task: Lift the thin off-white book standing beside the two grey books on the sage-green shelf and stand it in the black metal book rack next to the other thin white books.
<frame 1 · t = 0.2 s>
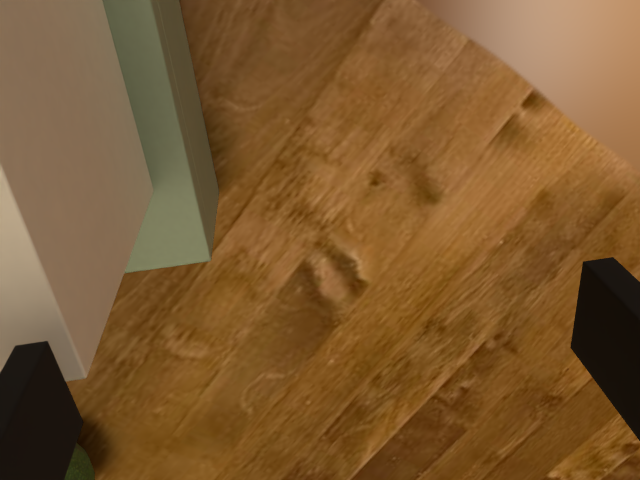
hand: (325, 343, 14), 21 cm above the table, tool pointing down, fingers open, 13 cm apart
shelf: (64, 91, 31), on the table
white book: (92, 81, 23), point 8 cm above the table, touching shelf
avocado: (55, 447, 43), on the table
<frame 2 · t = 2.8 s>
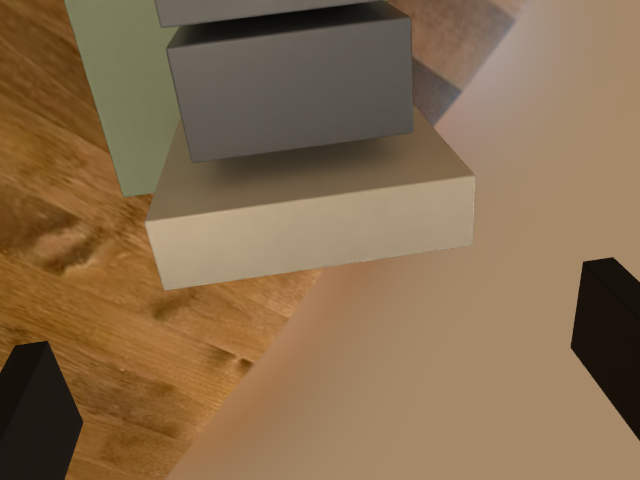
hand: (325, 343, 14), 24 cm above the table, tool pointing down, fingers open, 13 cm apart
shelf: (238, 12, 33), on the table
white book: (291, 117, 28), point 8 cm above the table, touching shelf
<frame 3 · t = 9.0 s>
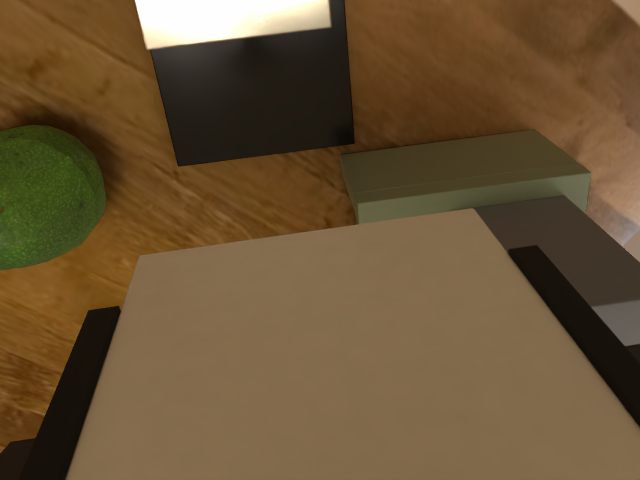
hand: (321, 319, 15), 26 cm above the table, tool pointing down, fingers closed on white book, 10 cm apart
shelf: (437, 228, 44), on the table
white book: (312, 266, 18), point 23 cm above the table, touching gripper
book rack: (247, 28, 36), on the table
avocado: (58, 162, 39), on the table
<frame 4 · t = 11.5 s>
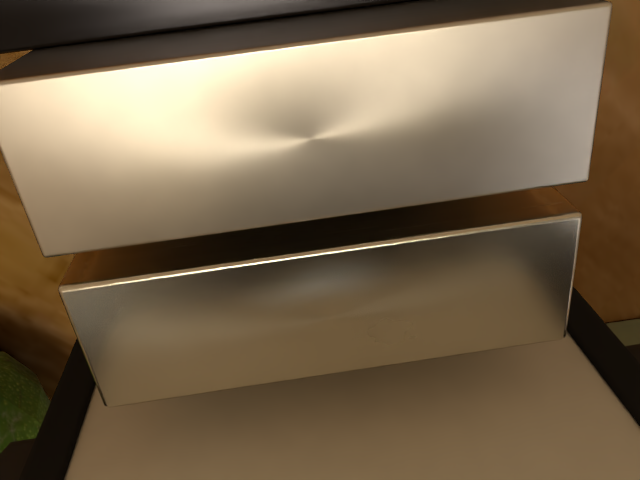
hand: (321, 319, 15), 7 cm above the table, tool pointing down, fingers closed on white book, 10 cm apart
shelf: (571, 433, 29), on the table
white book: (312, 265, 18), point 4 cm above the table, touching gripper
book rack: (300, 178, 21), on the table
when the fingers open (4 cm above the table, at t = 13.1 s): white book stays where it is, resting on book rack.
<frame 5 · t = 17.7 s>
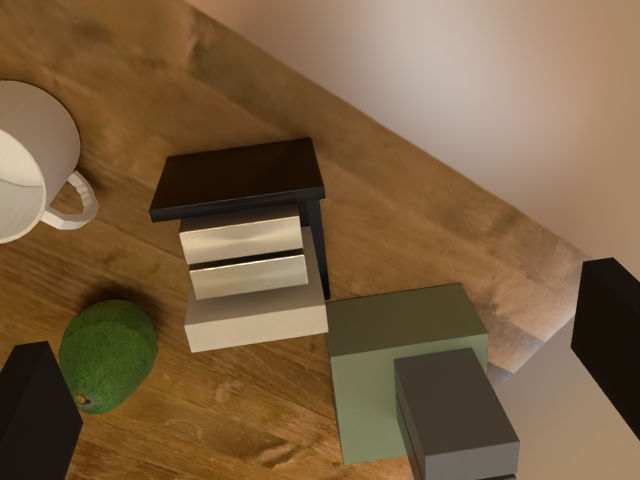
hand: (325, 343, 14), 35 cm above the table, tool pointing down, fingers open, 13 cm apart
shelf: (393, 347, 60), on the table
white book: (256, 245, 51), point 1 cm above the table, touching book rack
mug: (37, 149, 46), on the table
book rack: (254, 230, 52), on the table
avocado: (120, 314, 55), on the table
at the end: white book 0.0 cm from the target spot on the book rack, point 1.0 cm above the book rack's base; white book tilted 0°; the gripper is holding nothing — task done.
